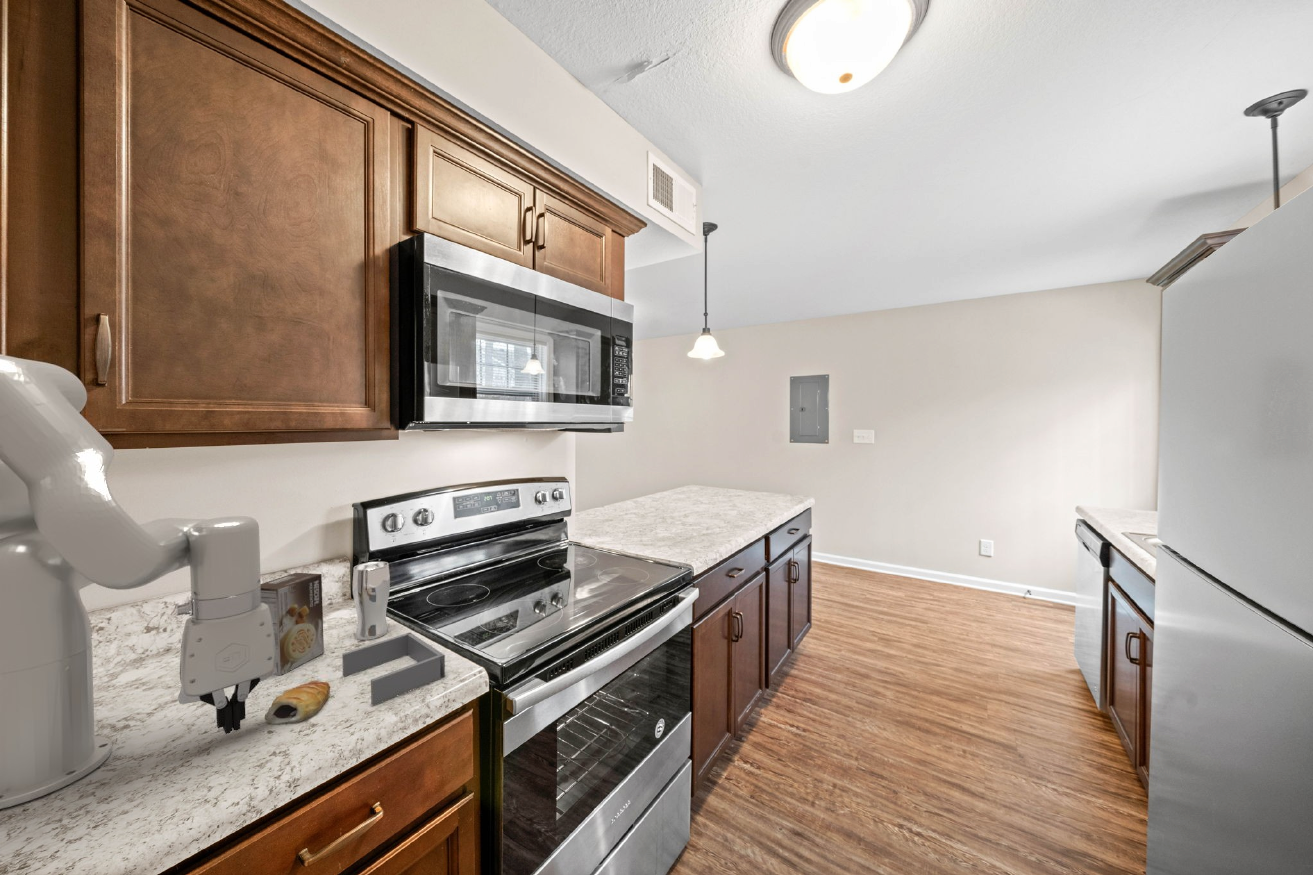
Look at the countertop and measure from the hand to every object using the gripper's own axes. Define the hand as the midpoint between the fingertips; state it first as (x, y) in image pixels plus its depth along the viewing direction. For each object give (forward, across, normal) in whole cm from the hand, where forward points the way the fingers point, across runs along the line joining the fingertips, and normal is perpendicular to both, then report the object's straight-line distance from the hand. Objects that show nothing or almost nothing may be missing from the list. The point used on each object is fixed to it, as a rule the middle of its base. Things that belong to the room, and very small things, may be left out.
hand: (231, 727), depth 70 cm
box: (+1, +22, 0) cm, 22 cm away
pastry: (+2, +8, +1) cm, 9 cm away
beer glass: (+2, +26, +22) cm, 35 cm away
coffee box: (+2, +11, +20) cm, 23 cm away
